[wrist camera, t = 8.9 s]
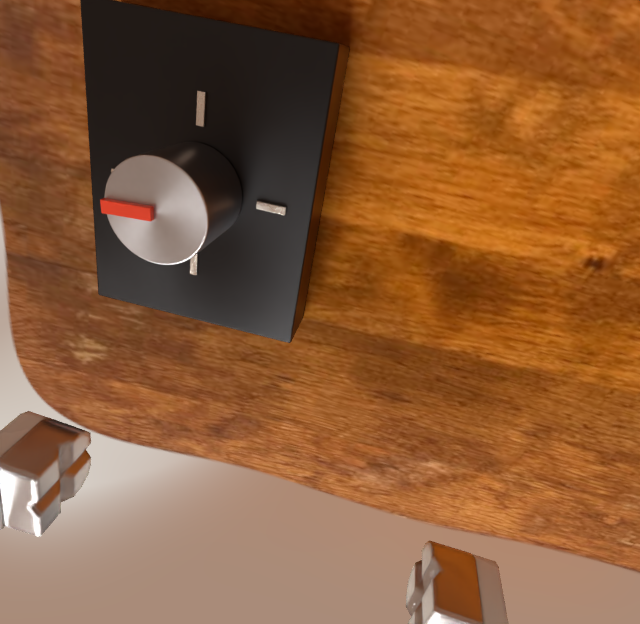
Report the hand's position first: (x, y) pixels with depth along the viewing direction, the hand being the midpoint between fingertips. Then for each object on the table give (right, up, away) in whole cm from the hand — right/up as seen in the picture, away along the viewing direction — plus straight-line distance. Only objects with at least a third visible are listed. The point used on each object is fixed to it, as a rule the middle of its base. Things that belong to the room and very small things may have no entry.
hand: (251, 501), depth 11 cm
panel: (-4, +11, +14) cm, 18 cm away
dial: (-4, +10, +11) cm, 16 cm away
